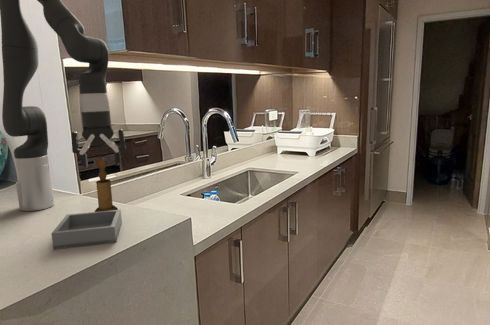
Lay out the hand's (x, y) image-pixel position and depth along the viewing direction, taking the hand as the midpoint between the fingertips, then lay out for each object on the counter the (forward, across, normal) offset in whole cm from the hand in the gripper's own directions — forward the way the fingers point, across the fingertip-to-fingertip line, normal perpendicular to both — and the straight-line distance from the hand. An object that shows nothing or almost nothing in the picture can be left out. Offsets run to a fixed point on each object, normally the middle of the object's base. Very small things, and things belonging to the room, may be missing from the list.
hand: (101, 166), depth 100 cm
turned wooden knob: (+16, 0, 0) cm, 16 cm away
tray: (+16, +2, +14) cm, 21 cm away
